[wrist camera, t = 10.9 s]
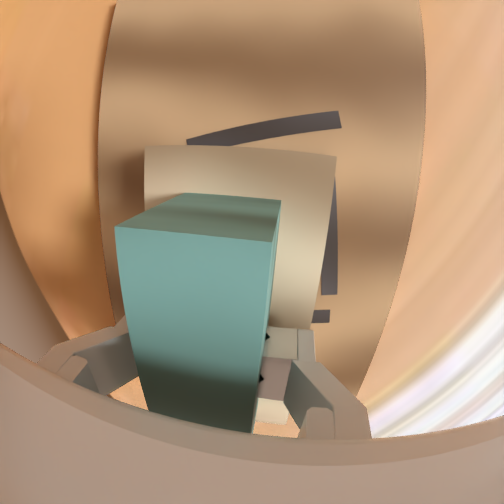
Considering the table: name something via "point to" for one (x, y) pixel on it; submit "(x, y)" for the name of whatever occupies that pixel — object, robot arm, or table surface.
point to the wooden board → (280, 129)
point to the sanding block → (220, 273)
